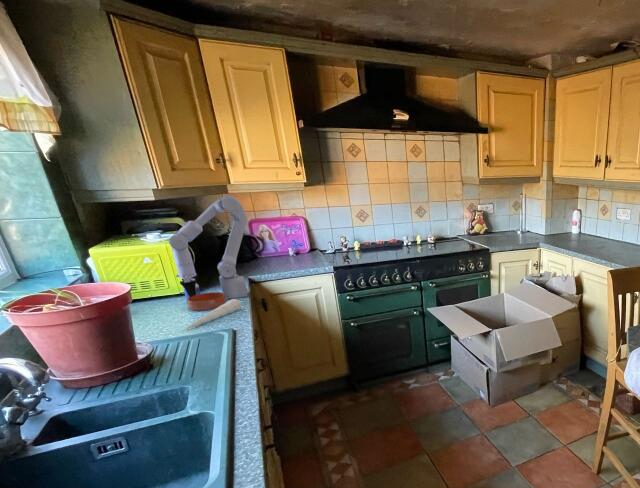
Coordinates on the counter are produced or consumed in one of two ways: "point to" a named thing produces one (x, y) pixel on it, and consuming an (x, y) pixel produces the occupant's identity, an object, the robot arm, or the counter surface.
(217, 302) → the bowl
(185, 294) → the pill bottle
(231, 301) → the unicorn horn
